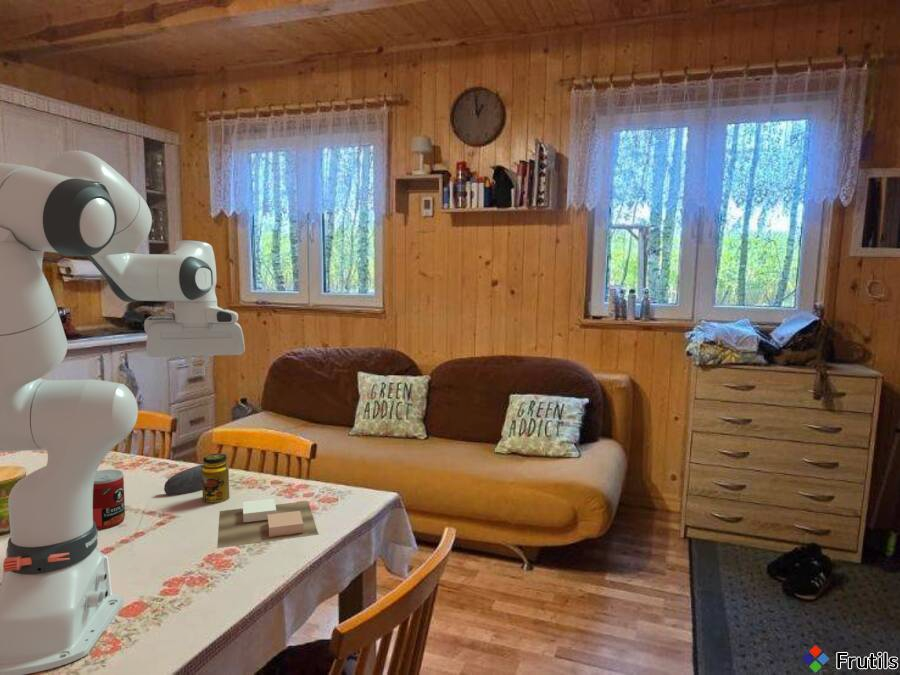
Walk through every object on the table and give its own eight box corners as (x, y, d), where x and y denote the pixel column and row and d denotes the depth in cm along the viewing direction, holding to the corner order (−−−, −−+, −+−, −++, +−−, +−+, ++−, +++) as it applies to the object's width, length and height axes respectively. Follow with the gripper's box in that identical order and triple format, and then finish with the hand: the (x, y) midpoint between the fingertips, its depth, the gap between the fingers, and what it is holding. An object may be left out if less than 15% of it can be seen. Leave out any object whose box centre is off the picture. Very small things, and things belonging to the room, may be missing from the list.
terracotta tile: (269, 537, 121) (303, 533, 123) (269, 527, 121) (303, 523, 123) (267, 523, 128) (300, 519, 130) (267, 514, 127) (299, 510, 130)
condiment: (202, 511, 137) (200, 462, 135) (199, 498, 144) (197, 451, 143) (234, 505, 140) (233, 458, 139) (230, 493, 147) (229, 448, 146)
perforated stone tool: (167, 503, 141) (166, 475, 140) (161, 496, 145) (160, 470, 144) (228, 489, 151) (228, 463, 150) (221, 483, 155) (220, 458, 154)
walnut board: (318, 539, 123) (318, 534, 123) (217, 553, 116) (217, 547, 116) (308, 505, 141) (308, 500, 141) (220, 515, 134) (219, 511, 134)
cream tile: (243, 523, 128) (276, 519, 130) (243, 513, 127) (276, 509, 130) (243, 510, 134) (274, 507, 137) (242, 501, 134) (274, 498, 136)
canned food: (107, 531, 125) (105, 482, 124) (76, 527, 126) (73, 479, 125) (133, 517, 132) (131, 470, 131) (103, 513, 134) (101, 467, 133)
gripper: (141, 315, 122) (144, 379, 123) (244, 314, 129) (245, 375, 130) (145, 313, 128) (148, 374, 129) (243, 312, 135) (245, 371, 136)
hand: (197, 375), depth 130 cm, fingers closed
